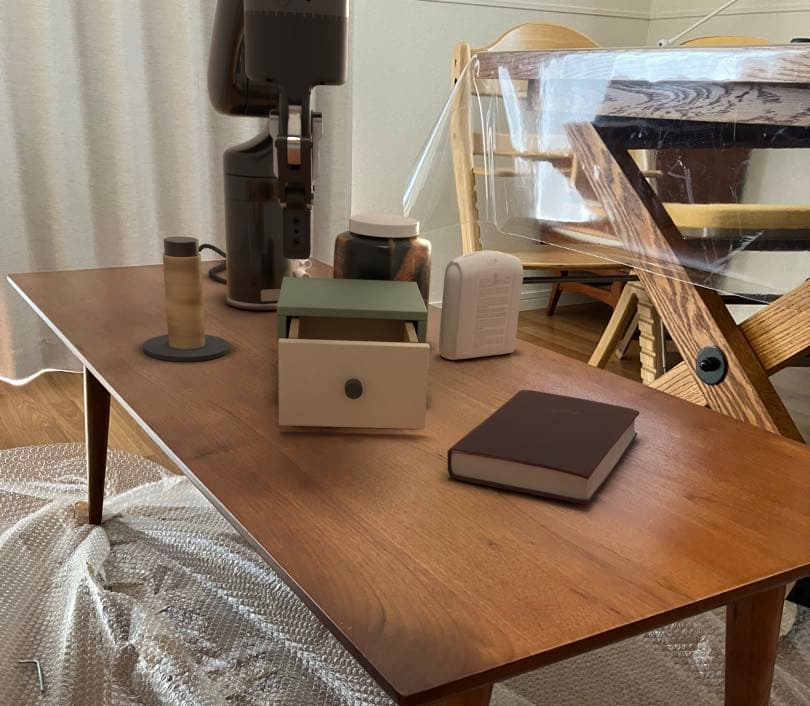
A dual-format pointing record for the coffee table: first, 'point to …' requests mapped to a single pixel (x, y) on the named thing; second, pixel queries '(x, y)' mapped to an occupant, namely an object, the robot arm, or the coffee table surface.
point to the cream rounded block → (480, 305)
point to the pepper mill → (183, 293)
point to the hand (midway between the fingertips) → (296, 257)
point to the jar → (384, 251)
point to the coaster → (163, 351)
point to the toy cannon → (301, 268)
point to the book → (545, 446)
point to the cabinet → (349, 302)
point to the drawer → (352, 373)
